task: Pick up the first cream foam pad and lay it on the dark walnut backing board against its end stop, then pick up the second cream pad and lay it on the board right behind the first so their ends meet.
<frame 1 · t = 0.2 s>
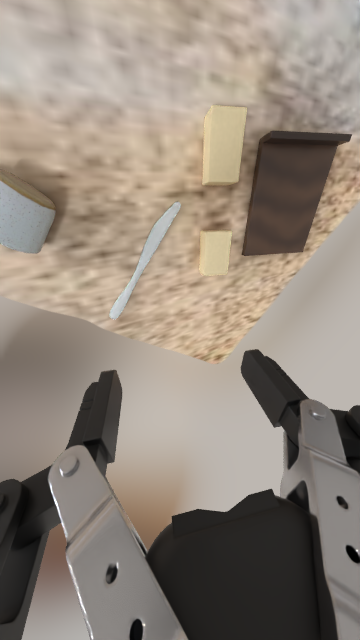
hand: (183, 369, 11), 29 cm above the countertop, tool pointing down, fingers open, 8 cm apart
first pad: (217, 154, 28), on the countertop
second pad: (211, 251, 36), on the countertop
ceramic mug: (22, 209, 27), on the countertop
backing board: (282, 204, 34), on the countertop
butter knife: (139, 266, 35), on the countertop
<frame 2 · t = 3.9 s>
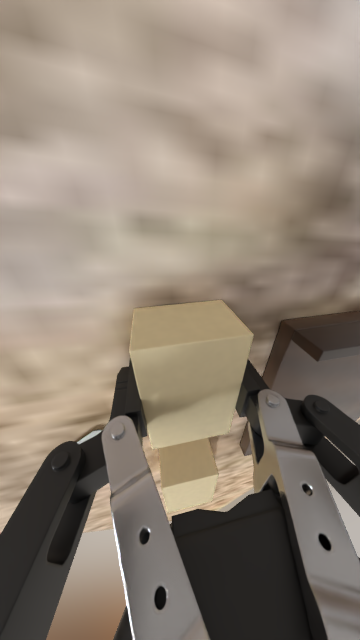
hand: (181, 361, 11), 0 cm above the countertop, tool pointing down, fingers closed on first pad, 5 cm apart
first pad: (180, 356, 12), on the countertop, touching gripper
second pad: (183, 453, 19), on the countertop
backing board: (318, 388, 17), on the countertop
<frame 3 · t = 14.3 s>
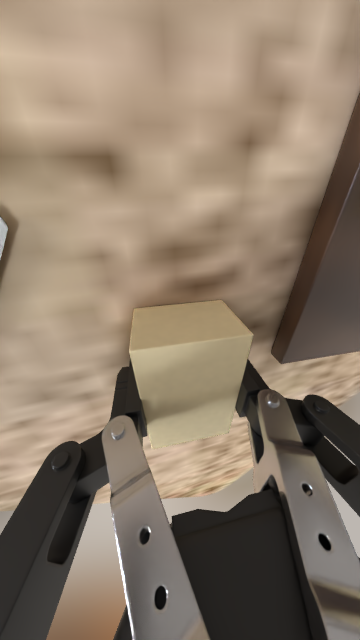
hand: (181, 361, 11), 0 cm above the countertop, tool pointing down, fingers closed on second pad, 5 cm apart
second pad: (180, 356, 12), on the countertop, touching gripper
when the fingers open (2 cm above the countertop, at t = 20.5 s): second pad stays where it is, resting on backing board.
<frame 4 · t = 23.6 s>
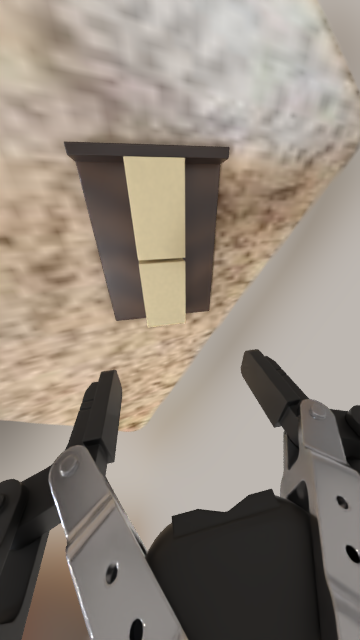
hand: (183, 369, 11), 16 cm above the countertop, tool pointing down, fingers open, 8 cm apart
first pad: (156, 214, 19), point 1 cm above the countertop, touching backing board
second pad: (162, 287, 23), point 1 cm above the countertop, touching backing board
backing board: (158, 250, 22), on the countertop
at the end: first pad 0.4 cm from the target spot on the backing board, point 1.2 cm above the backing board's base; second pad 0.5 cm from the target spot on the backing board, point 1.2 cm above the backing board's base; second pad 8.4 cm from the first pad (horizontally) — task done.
